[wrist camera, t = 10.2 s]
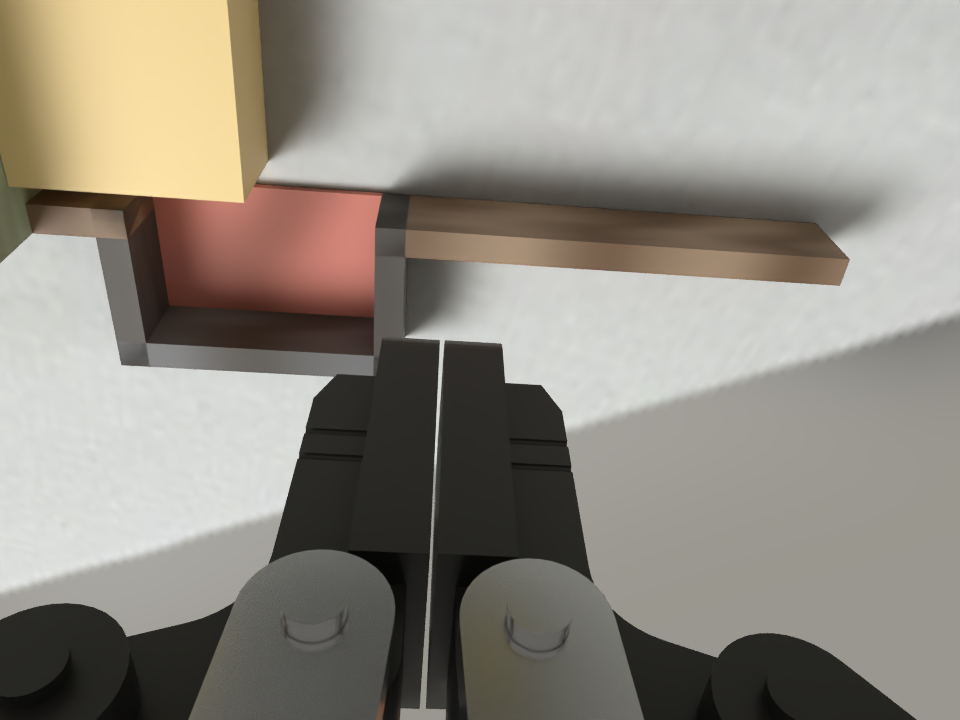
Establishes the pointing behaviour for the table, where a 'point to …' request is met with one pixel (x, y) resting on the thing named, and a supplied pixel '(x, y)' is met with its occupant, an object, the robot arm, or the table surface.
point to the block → (133, 97)
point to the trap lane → (358, 263)
